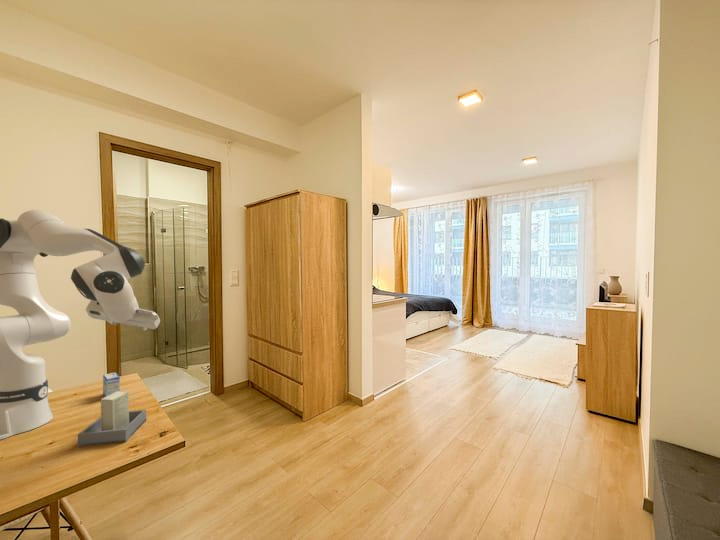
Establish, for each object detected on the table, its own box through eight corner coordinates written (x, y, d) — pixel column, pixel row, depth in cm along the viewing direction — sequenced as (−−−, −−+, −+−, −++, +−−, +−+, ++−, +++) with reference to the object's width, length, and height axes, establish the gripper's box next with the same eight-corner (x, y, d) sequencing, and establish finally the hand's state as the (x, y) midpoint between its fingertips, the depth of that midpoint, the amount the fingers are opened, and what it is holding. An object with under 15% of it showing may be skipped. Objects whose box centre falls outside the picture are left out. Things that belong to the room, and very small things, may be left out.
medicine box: (102, 394, 127) (102, 374, 126) (116, 391, 130) (115, 371, 130) (106, 400, 122) (106, 379, 121) (120, 396, 125) (120, 376, 125)
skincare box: (118, 424, 102) (117, 390, 101) (130, 425, 101) (129, 391, 101) (100, 435, 95) (99, 398, 95) (112, 436, 95) (112, 399, 95)
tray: (77, 447, 91) (77, 434, 91) (104, 424, 103) (104, 413, 103) (125, 442, 93) (125, 429, 93) (146, 420, 106) (146, 409, 106)
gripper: (160, 306, 101) (165, 323, 111) (91, 292, 95) (102, 312, 105) (152, 322, 97) (157, 339, 107) (78, 308, 91) (92, 327, 101)
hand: (129, 325), depth 106 cm, fingers open, 8 cm apart
